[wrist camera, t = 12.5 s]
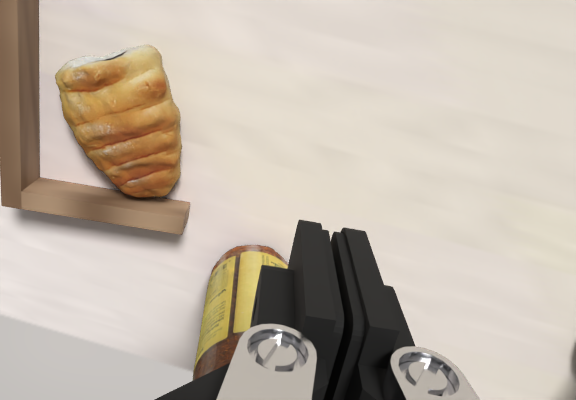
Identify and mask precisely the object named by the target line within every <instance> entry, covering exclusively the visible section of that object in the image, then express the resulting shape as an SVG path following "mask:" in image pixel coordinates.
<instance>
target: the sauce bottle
mask: <svg viewBox="0 0 576 400" xmlns="http://www.w3.org/2000/svg"><path fill="white" fill-rule="evenodd" d="M262 264H263V265H269V266H274V267H280V268H286V269H287V268H288V264H287V262H286V261H285V260H284V258H283V257H282V256H280V255H279V254H278V253H277V252H275V251H274V250H273V249H272V248H270V247H266V246H260V245H246V246H237V247H235V248H233V249H231V250H229V251H228V252H226V253H225V254H224V255H223V256H222V257H221V258H220V260H219V261H218V262H217V263H216V265H215V266H214V268H213V270H212V274H211V277H210V280H209V283H208V288H207V294H206V300H205V306H204V312H203V319H202V325H201V331H200V337H199V343H198V349H197V355H196V361H195V366H194V372H193V381H194V380H196V379H198V378H200V377H202V376H204V375H206V374H208V373H210V372H212V371H214V370H216V369H218V368H220V367H222V366H224V365H226V364H228V363H230V362H231V360H232V358H233V355H234V352H235V350H236V347H237V345H238V342H239V339H240V338H241V336H242V335H243V333H244V332H245V331H247V330H248V329H250V324H251V317H252V311H253V305H254V299H255V294H256V289H257V284H258V279H259V274H260V270H261V266H262Z"/></svg>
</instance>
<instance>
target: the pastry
mask: <svg viewBox="0 0 576 400" xmlns="http://www.w3.org/2000/svg"><path fill="white" fill-rule="evenodd" d="M55 78H56V83H57V85H58V87H59V90H60V99H61V102H62V111H63V115H64V118H65V120H66V121H67V123H68V124H69V126H70V128H71V129H72V130H73V132H74V135H75V138H76V140H77V141H78V143H79V145H81V147H82V148H83V149H84V151H85V153H86V155H87V156H88V158H90V159H91V160H92V161H93V162H94V163H95V165H96V166H97V168H98V169H99V170H101V171H103V172H104V173H105V174H106V175H107V176H108V177H109V179H110V180H111V181H112V182H113V184H115V185H116V187H117V188H118V189H120V190H121V191H122V192H123V193H125V194H127V195H131V196H134V197H152V196H156V197H162V196H166V195H167V194H168V193H169V192H170V191H171V189H172V188H173V186H174V185H175V183H176V182H177V180H178V179H179V177H180V173H181V172H180V154H181V149H182V144H181V137H180V112H179V109H178V107H177V106H176V105H175V103H174V102H173V99H172V95H171V90H170V86H169V81H168V78H167V75H166V74H165V71H164V69H163V67H162V56H161V54H160V53H159V51H158V50H157V49H156V48H155V47H153V46H150V45H143V46H137V47H133V48H126V49H122V50H120V51H117V52H114V53H111V54H109V55H106V56H104V57H95V56H83V57H81V58H78V59H73V60H71V61H69V62H67V63H66V64H65V65H64V66H63V67H62V68H61V69H60V70H59V71H58V72H57V73H56V75H55Z"/></svg>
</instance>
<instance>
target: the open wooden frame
mask: <svg viewBox="0 0 576 400" xmlns="http://www.w3.org/2000/svg"><path fill="white" fill-rule="evenodd" d="M0 176H1V202H2V206H5V207H12V208H18V209H24V210H30V211H37V212H43V213H49V214H55V215H62V216H68V217H74V218H80V219H87V220H93V221H99V222H105V223H112V224H118V225H124V226H130V227H137V228H143V229H149V230H155V231H162V232H168V233H174V234H180V235H182V233H183V230H184V228H185V225H186V223H187V220H188V216H189V208H190V202H184V201H178V200H172V199H166V198H160V197H154V196H152V197H134V196H131V195H127V194H125V193H123V192H122V191H118V190H112V189H106V188H100V187H94V186H88V185H82V184H76V183H70V182H64V181H58V180H52V179H46V178H40V173H39V0H0Z"/></svg>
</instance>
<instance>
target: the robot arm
mask: <svg viewBox="0 0 576 400" xmlns="http://www.w3.org/2000/svg"><path fill="white" fill-rule="evenodd" d="M155 400H480V399H479V397H478V396H477V394H476V393H475V391H474V390H473V388H472V387H471V385H470V384H469V382H468V380H467V379H466V377H465V376H464V374H463V373H462V372H461V371H460V370H459V368H458V367H457V366H456V365H455V364H453V363H452V362H451V361H450V360H448V359H447V358H446V357H444V356H442V355H440V354H438V353H437V352H434V351H431V350H428V349H426V348H421V347H415V344H414V341H413V339H412V336H411V333H410V331H409V328H408V325H407V323H406V320H405V317H404V315H403V312H402V309H401V307H400V304H399V301H398V299H397V296H396V293H395V291H394V289H393V287H391V286H386V285H384V284H383V281H382V278H381V275H380V272H379V269H378V266H377V263H376V260H375V258H374V255H373V252H372V249H371V246H370V243H369V240H368V237H367V234H366V232H365V231H360V230H355V229H349V228H343V229H342V230H341V233H339V232H334V233H333V235H332V239H331V242H330V236H329V231H328V230H322V226H321V223H315V222H310V221H304V220H299V222H298V225H297V229H296V233H295V237H294V242H293V246H292V251H291V255H290V260H289V264H288V268H287V269H286V268H280V267H274V266H269V265H263V264H262V266H261V270H260V274H259V279H258V284H257V289H256V294H255V299H254V305H253V311H252V317H251V324H250V329H248V330H247V331H245V332H244V333H243V335H242V336H241V338H240V339H239V342H238V345H237V347H236V350H235V352H234V355H233V358H232V360H231V362H230V363H228V364H226V365H224V366H222V367H220V368H218V369H216V370H214V371H212V372H210V373H208V374H206V375H204V376H202V377H200V378H198V379H196V380H194V381H192V382H190V383H188V384H186V385H183V386H181V387H179V388H177V389H175V390H173V391H171V392H169V393H167V394H165V395H163V396H161V397H159V398H157V399H155Z"/></svg>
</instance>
